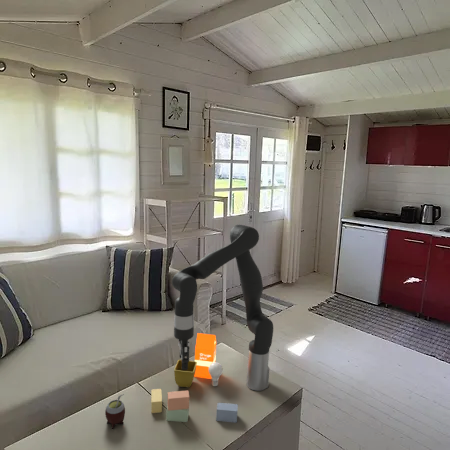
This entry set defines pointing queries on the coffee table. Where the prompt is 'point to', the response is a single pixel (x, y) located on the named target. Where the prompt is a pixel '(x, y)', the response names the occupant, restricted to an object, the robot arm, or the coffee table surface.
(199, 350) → the orange juice
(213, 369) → the lightbulb
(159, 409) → the ochre brick
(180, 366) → the flower pot
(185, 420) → the sage brick
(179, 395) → the terracotta brick
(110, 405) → the mate gourd
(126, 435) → the coffee table surface
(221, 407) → the slate brick
